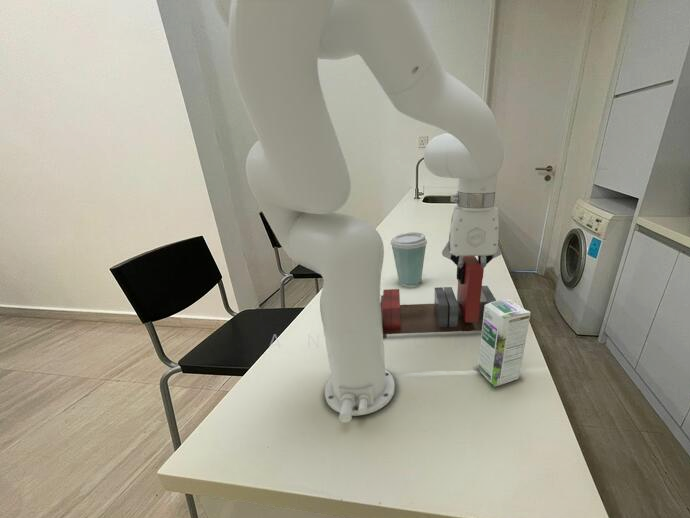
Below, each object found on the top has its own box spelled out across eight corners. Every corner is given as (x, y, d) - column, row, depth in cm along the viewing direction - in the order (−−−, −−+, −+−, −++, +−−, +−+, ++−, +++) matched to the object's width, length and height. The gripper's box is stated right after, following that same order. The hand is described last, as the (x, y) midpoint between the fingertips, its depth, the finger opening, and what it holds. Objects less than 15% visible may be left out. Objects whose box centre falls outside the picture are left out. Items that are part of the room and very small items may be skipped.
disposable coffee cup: (400, 293, 96) (399, 243, 89) (387, 280, 105) (384, 233, 98) (433, 286, 100) (433, 237, 93) (416, 274, 108) (416, 229, 102)
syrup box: (476, 369, 64) (482, 303, 58) (501, 361, 66) (510, 297, 60) (494, 388, 60) (503, 318, 53) (520, 379, 62) (532, 310, 55)
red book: (478, 322, 75) (483, 268, 69) (465, 322, 75) (469, 268, 69) (468, 300, 85) (472, 252, 79) (456, 301, 85) (459, 252, 79)
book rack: (502, 333, 75) (505, 307, 72) (380, 338, 75) (378, 312, 72) (487, 304, 88) (489, 282, 85) (382, 308, 88) (380, 286, 85)
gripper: (438, 204, 65) (435, 289, 73) (521, 202, 65) (509, 287, 73) (434, 198, 72) (432, 276, 80) (509, 196, 72) (499, 275, 80)
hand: (469, 281), depth 77 cm, fingers closed on red book, 3 cm apart
